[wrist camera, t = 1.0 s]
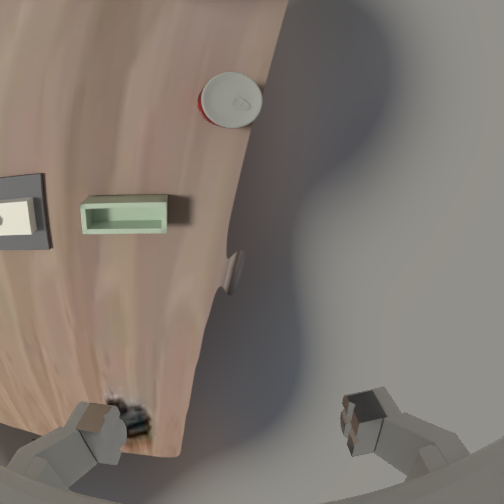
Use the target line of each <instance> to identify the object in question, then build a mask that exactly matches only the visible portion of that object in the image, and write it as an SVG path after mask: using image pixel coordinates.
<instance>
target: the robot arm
mask: <svg viewBox="0 0 504 504" xmlns="http://www.w3.org/2000/svg"><path fill="white" fill-rule="evenodd" d="M342 404H343V407H344V409H343V411H342V412H341V417H340V419H341V420H340V421H341V429H342V432H343V435H344V436H345V437H347V438H348V441H347V446H348V448H349V451H350V453H351V456H352V457H353V456H359V455H364V454H368V453H373V452H375V454H376V455H378V456H379V457H381V458H382V459H383V460H385V461H386V462H388V463H389V464H391V465H392V466H393V467H395V468H396V469H398V470H399V471H401V472H402V473H404V474H405V475H407V478H406V479H405V481H404V482H403V483H400V484H397V485H394V486H391V487H388V488H385V489H381V490H378V491H374V492H370V493H367V494H363V495H359V496H355V497H351V498H346V499H342V500H337V501H332V502H327V503H321V504H504V436H503V437H501V438H500V439H498V440H497V441H495V442H493V443H491V444H489V445H487V446H486V447H484V448H482V449H480V450H478V451H476V452H474V453H472V454H470V453H469V451H468V450H467V449H466V447H465V446H464V444H463V443H462V442H461V440H460V439H459V438H458V436H457V435H456V434H455V433H453V432H450V431H448V430H445V429H443V428H440V427H438V426H435V425H433V424H431V423H428V422H426V421H423V420H421V419H419V418H417V417H414V416H412V415H410V414H408V413H401V411H400V410H399V408H398V407H397V405H396V404H395V402H394V400H393V399H392V397H391V396H390V394H389V393H388V391H387V390H386V388H385V387H380V388H375V389H371V390H367V391H362V392H358V393H353V394H348V395H344V397H343V402H342ZM119 415H120V412H119V410H118V408H117V407H116V406H112V405H104V404H97V403H88V402H80V403H78V405H77V406H76V408H75V410H74V411H73V413H72V414H71V416H70V418H69V419H68V421H67V423H66V424H65V426H64V427H59V428H57V429H55V430H54V431H52V432H50V433H48V434H46V435H44V436H42V437H40V438H39V439H37V440H35V441H33V442H31V443H29V444H27V445H25V446H23V447H21V448H19V449H18V450H17V452H16V453H15V455H14V456H13V458H12V459H11V461H10V463H9V464H8V466H7V467H6V468H5V467H3V466H1V465H0V504H122V503H117V502H112V501H107V500H102V499H98V498H93V497H89V496H85V495H82V494H78V493H74V492H71V491H70V490H69V489H68V487H70V486H71V485H72V484H73V483H74V482H76V481H77V480H78V479H79V478H81V476H83V475H84V474H85V473H86V472H87V471H89V470H90V469H91V468H92V467H94V466H95V465H96V464H97V462H99V463H105V464H112V465H117V463H118V461H119V458H120V455H121V451H120V449H119V448H120V447H122V446H123V445H125V442H126V437H127V431H126V426H125V424H124V422H123V421H122V420H121V419H120V418H118V417H119Z"/></svg>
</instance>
